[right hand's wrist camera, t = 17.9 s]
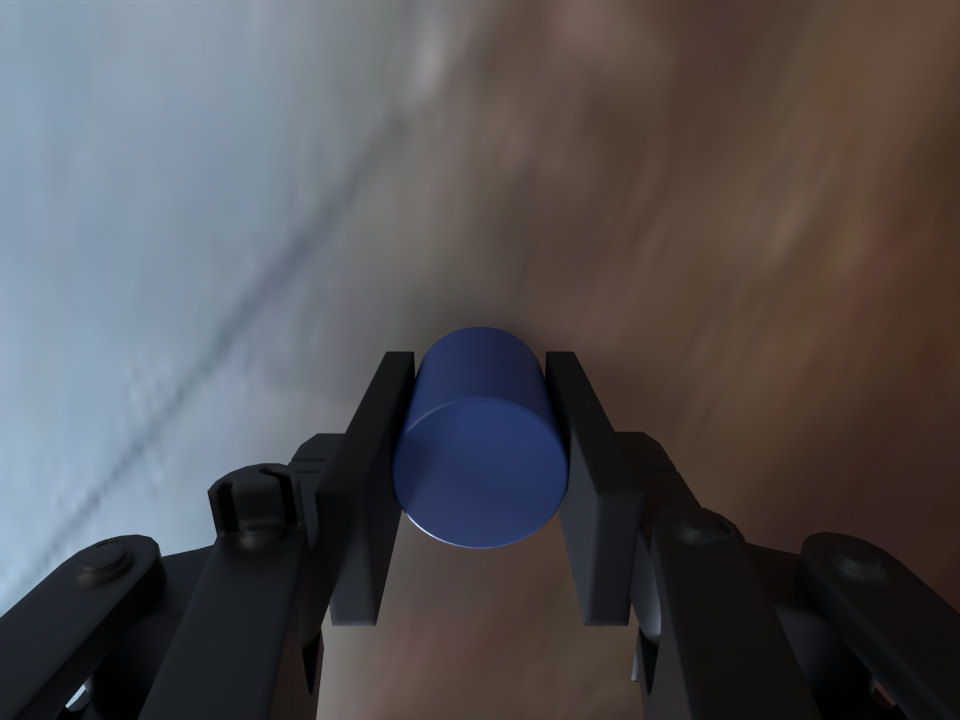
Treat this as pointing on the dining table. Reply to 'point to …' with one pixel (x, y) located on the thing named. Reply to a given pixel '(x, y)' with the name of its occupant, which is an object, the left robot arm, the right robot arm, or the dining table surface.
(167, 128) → the dining table surface
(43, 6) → the dining table surface
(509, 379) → the canister
